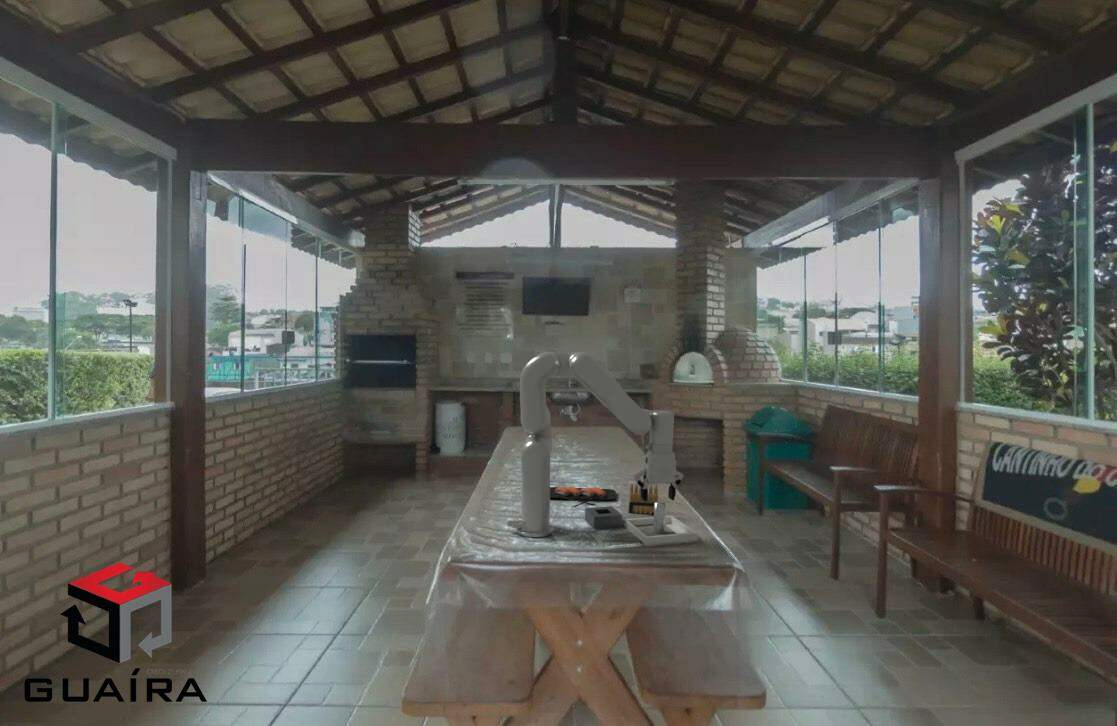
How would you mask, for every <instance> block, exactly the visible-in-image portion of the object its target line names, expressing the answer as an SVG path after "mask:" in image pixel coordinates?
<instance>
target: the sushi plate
mask: <svg viewBox="0 0 1117 726" xmlns="http://www.w3.org/2000/svg"><path fill="white" fill-rule="evenodd" d="M616 497H617V492H616V490H615V489H613V488H612V489H611V488H599V487H593V488H591V487H574V486H568V487H566V486H565V487H562V486H550V499H559V498H560V499H562V500H563V499H564V500H565V499H566V500H569V501H573V502H579V503H578V504H576V505H575V504H574V505H572V508H575V507H578V506H581V505H583V504H586V505H589V506H597V504H595V503H591V502H590V501H592V500H593V501H612V500H613V501H614V500H616ZM581 500H585V501H581Z"/></svg>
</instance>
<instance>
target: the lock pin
mask: <svg viewBox="0 0 1117 726" xmlns="http://www.w3.org/2000/svg"><path fill="white" fill-rule="evenodd" d="M665 516H666V502H664V501H660V500H658V501H656V502H654V524H653V533H654V534H656V535H665V531H666V530H665V528H666V527H665V526H666V525H665Z"/></svg>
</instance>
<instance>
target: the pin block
mask: <svg viewBox="0 0 1117 726" xmlns="http://www.w3.org/2000/svg"><path fill="white" fill-rule="evenodd" d="M584 520H585V521H586V522H587V523H588V524H589V526H590V527H592V528H593V530H596V529H597V530H598V529H600V530H601V529H608V528H620V527H623V514H622V513H621V512H620V511H619V510H617V509H616V508H615V507H613V506H611V505H610V506H598V507H597V506H596V507H595V506H594V507H585V508H584Z"/></svg>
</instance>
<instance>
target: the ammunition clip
mask: <svg viewBox="0 0 1117 726" xmlns="http://www.w3.org/2000/svg"><path fill="white" fill-rule="evenodd" d="M634 485H635V486H633V483H632V482H631V483H630V485H629V493H628V514H639V515H640V514H641V515H651V516H652V517H653V516H654V502H656V501H659V496H658V495H659V494H658V491H659V490H658V486H657V485H658V484H654V487H653V484H649V488H648V487H647V489H648V498H647V501H644V500H642V498H641V487H640V486H639V485H638V483H637V482H636V483H635V484H634ZM638 486H639V487H638ZM653 488H654V489H653Z"/></svg>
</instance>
